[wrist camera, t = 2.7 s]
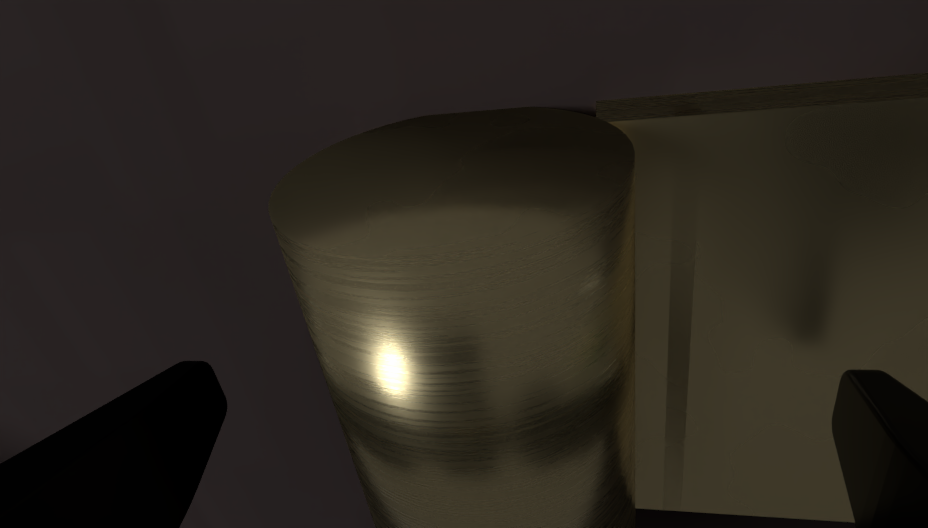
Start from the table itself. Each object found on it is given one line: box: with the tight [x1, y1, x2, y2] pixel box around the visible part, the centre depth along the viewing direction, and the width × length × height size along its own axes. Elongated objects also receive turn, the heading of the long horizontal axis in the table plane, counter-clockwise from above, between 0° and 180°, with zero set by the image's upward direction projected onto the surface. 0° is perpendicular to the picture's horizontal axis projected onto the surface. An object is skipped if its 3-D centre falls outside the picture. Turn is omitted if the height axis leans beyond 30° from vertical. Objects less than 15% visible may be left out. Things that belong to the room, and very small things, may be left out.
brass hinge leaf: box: [269, 73, 928, 528], centre depth 8 cm, size 7×13×4 cm, turn 98°
